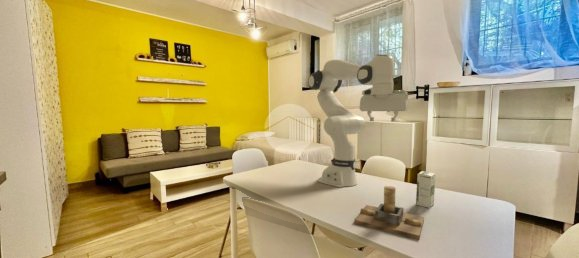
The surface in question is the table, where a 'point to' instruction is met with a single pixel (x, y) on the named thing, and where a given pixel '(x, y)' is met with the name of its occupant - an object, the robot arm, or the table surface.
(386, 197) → the pin
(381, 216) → the wooden socket board
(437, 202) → the table surface
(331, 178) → the robot arm
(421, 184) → the syrup box
